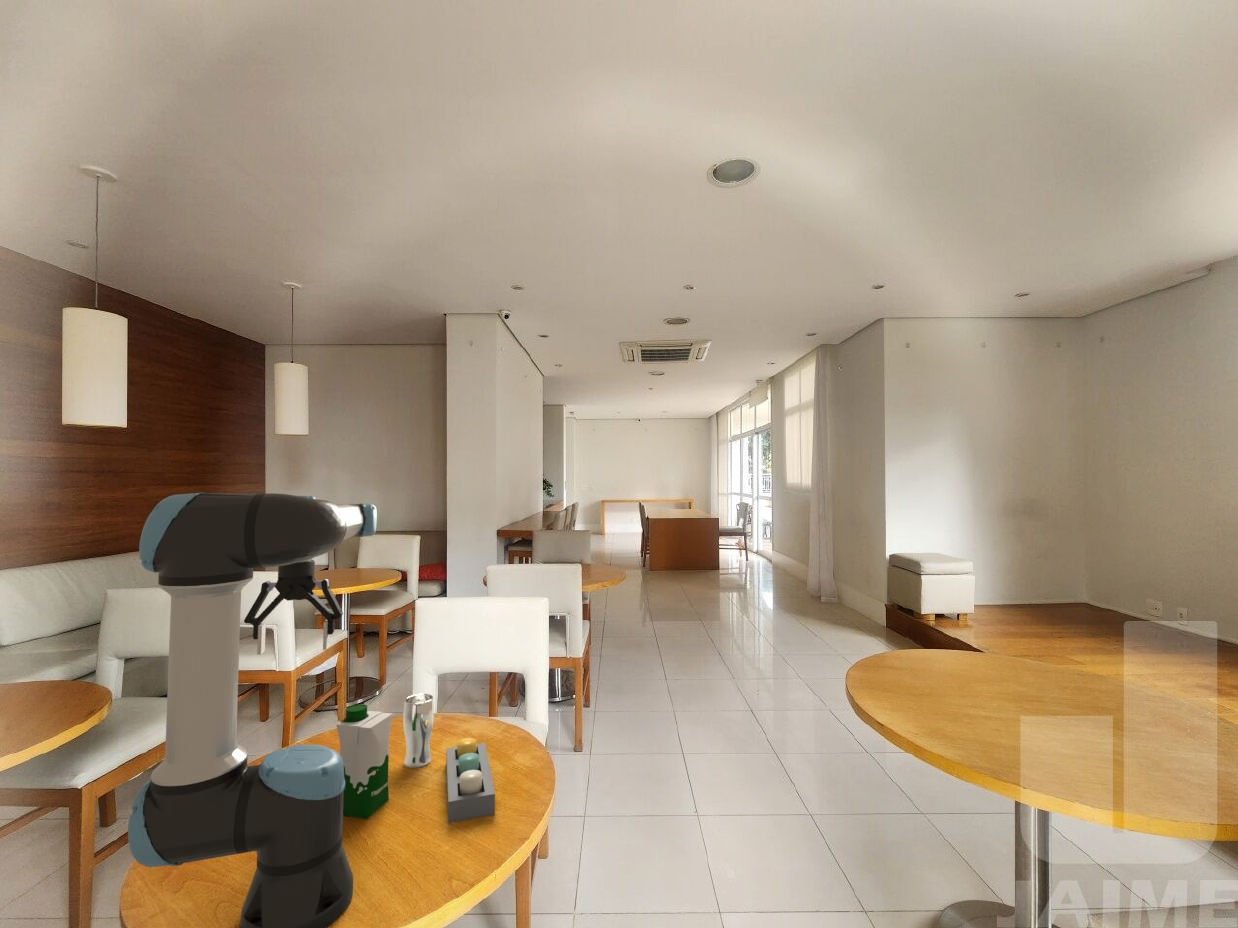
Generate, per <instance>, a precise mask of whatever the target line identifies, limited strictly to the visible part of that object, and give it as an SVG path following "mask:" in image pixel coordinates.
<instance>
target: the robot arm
mask: <svg viewBox="0 0 1238 928" xmlns="http://www.w3.org/2000/svg"><path fill="white" fill-rule="evenodd" d="M377 515H378V514H377V507H376V506H375V505H374V504H372V503H371V504H369V503H341V504H340V503H339V504H338V503H333V502H331V501H329V500H326V499H317V498H316V497H315V496H314V495H294V494H288V493H241V492H239V493H238V492H237V493H236V492H235V493H231V492H230V493H229V492H228V493H226V492H222V493H221V492H220V493H217V492H215V493H213V492H210V493H209V492H202V491H201V492H196V493H195V492H194V493H193V492H191V493H181V494H180V493H179V494H173V495H170V496H169V495H168V496H167V497H165V498H163V499H162V500H161V501H160V502H158V503H157V504H156V505H155V507H154V508H153V509H152V511H151V512H150V513H149V515H148V516H147V518H146V521H145V523H144V525H143V528H142V531H141V535H140V539H139V546H138V549H139V550H138V551H139V552H138V554H139V559H140V560H141V565H142V567H143V569H145V570H146V571H148V572H151V573H158V582H157V583H158V585H157V586H158V588H160V589H161V590H163V591H164V592H166V593H167V594H168V595H169V596H170V616H169V639H168V641H169V642H168V644H169V646H168V665H167V667H168V669H167V670H168V671H167V695H166V696H167V699H166V719H165V720H166V721H165V724H166V725H165V750H164V752H165V753H164V759H163V761H161V762H160V763H159V764H158V766H156V767H155V769H153V770H152V772H151V775H150V779H149V780H148V781H145V783H144V784H143V785H142V786H141V788H139V790H138V791H137V793H136V794H135V797H134V800H133V801H132V805H131V809H132V812H131V814H130V815H129V818H128V823H127V840H128V844H129V845H128V846H129V849H130V853H131V855H132V857H133V858H134V860H135V861H136V862H137V863H138V864H140V865H141V866H144V867H148V868H156V867H164V866H165V867H166V866H171V867H177V866H181V865H183V864H185V863H187V864H188V863H192V862H199V861H205V860H209V859H210V860H211V859H216V858H222V857H228V856H234V855H240V854H245V853H251V852H256V868H255V873H254V875H253V878H252V881H251V882H250V885H249V888H248V892H247V894H246V896H245V900H244V903H243V905H242V909H241V912H240V928H327V927H329V926H331V925H332V924H333V923H335V921H337V920H338V919H339V918H340V917H341V916H342V915H343V914H344V913H345V912H346V911H347V908H348V907H349V906H350V903H351V902H352V899H353V894H354V875H353V872H352V869H351V866H350V864H349V863H350V862H349V860H348V858H347V855H346V852H345V849H344V846H343V829H344V821H343V820H344V816H343V799H344V788H345V778H344V764H343V759H342V757H341V756H340V752H338V751H337V750H335V749H333V748H331V747H329V746H327V745H320V744H296V745H291V746H286V747H285V748H278V749H276V750H273V751H271V752H270V753H268V754H266V755H265V757H264V758H263V759H262V761H261V762H260V764H254V765H249V764H248V755H249V754H248V750H247V749H246V748H245V747H244V746H242V745H240V744H239V743H238V742H237V730H238V729H237V726H238V724H237V723H238V700H239V699H238V695H239V665H240V664H239V663H240V661H239V660H240V639H241V638H240V636H241V635H240V634H241V632H240V631H241V605H242V591H243V588H244V587H245V586H246V585H248V583H250V582H251V581H253V579H254V569H259V568H260V569H262V568H277V580H276V582H272V581H270V580H267V581H264V582H262V583H261V587H260V592H259V594H258V596H257V598H256V599H255V600H254V602H253V604H252V605H251V608H250V610H249V611H248V612H247V614H246V616H245V618H244V620H243V622H244V623H245V624H249V625H251V626H252V629H253V630H252V631H253V632H252V633H253V634H252V639H253V640H257V647H256V648H257V649H256V654H257V655H262V654H263V653H265V651H266V633H267V632H266V630H267V629H266V628H267V624H266V622H265V623H264V622H263V621H264V620H266V618H268V617H269V616H270V614H271V613H272V612H273V611H274V610H275V609H276V608H277V607H278V605H280V603H281V602H282V601H283V600H286V601H288V602H289V601H293V600H295V601H296V600H297V601H303V600H304V599H306V601H308V602H309V603H310V604H311V605H312V606H314V608H316V610H317V611H318V612H319V613H320V614H321V615H322V616H323V617H324V618H325V620H324V621H323V630H322V631H323V633H322V636H323V638H322V650H323V651H326V650H328V648H329V647H330V635H333V633H334V632H335V620H337V619H340V618H341V617H342V616H343V615H344V613H343V610H342V608H341V606H340V604H339V603H338V600H337V598H336V597H335V595H334V593H333V591H332V589H331V585H330V579H328V578H325V579H322V580H320V579H319V580H316V578H315V574H316V573H315V572H316V570H315V568H316V562H315V561H314V559H315V558H317V557H319V556H322V555H325V554H326V553H329V552H331V551H333V550H335V549H336V548H337V547H338V546H339V545H341V543H342V542H343V541H344V540H348V539H349V538H362V537H363V538H364V537H373V536H374V535H375V533H376V531H377V524H378V523H377V521H378V516H377ZM315 587H318V589H319V590H321V591H322V593H323V595H324V597H325V599H326V601H327V603H328V605H329V607H330V608H331V610H330V608H328V606H326V605H325V603H324V602H323V601H322V600H321V599H320V598H319V597H318V595H317V594H316V593H315V591H313V590H314V589H315ZM274 588H275V589H276V591H277V592H278V593H279V594H278V595H277V596H276V597H274V599H273V601H271V603H270V604H268V606H267V607H266V608H265V609H264V610H263V611H262V612H261V613H260V614H259V615H258V617H256V616H257V614H258V612H259V611H260V609H261V607H262V605H263V604H264V602H265V600H266V599H267V596H268V595H269V593H270V592H271V591H273V590H274Z"/></svg>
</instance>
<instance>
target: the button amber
mask: <svg viewBox="0 0 1238 928" xmlns="http://www.w3.org/2000/svg"><path fill="white" fill-rule="evenodd" d="M477 744H478V740H477V739H476V738H474V737H465V738H461V739H459V740H458V741H457V744H456V745H457V746H456V747H457V759H459V757H460V756H461V755H463V754H466V753H476V754H477Z"/></svg>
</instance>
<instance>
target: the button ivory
mask: <svg viewBox="0 0 1238 928" xmlns="http://www.w3.org/2000/svg"><path fill="white" fill-rule="evenodd" d="M481 791H482V772H481V771H479V770H468V771H465V772H463V773H462V774H461V775H460V795H461V796H464V795H470V794H476V793H481Z"/></svg>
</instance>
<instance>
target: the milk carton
mask: <svg viewBox="0 0 1238 928" xmlns="http://www.w3.org/2000/svg"><path fill="white" fill-rule="evenodd" d="M393 714H394V713H391V712H383V711H375V710H374V711H372V710H368V705H367V704H364V703H363V704H362V703H360V704H353V705H351V706H348V707H346V708H345V718H343V720H341V721H340V722H339V723H337V724H336V730H337V735H338V739H339V748H340V749H339V754H340V756H341V757H342V759H343V764H344V778H345V788H344V799H343V817H349V818H357V819H363V820H364V819H365V820H368V819H369V818H371V816H373V815H374V814H375V813H376V812H377V811H378V810H380V809H381V807H383V806H384V805H385V804H386V803H387V802H389V800H390V799H389V798H390V797H389V762H390V761H389V756H390V755H389V754H390V753H389V752H390V734H391V728H392V727H391V726H392V721H393Z"/></svg>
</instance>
